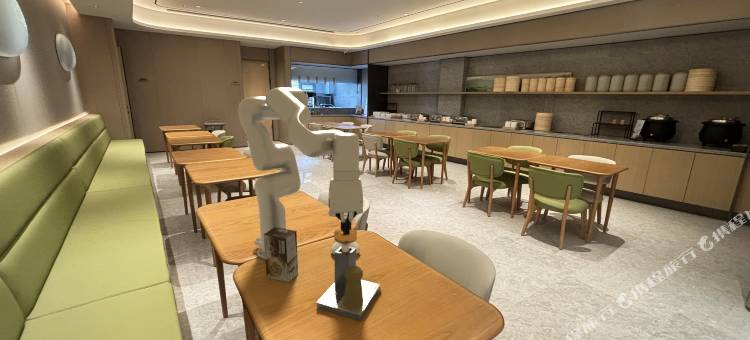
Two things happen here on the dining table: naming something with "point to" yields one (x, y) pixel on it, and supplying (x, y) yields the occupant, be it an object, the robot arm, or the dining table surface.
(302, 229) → the dining table surface
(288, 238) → the coffee box
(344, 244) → the handle
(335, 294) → the press stand
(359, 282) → the cork
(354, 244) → the flower in vase
